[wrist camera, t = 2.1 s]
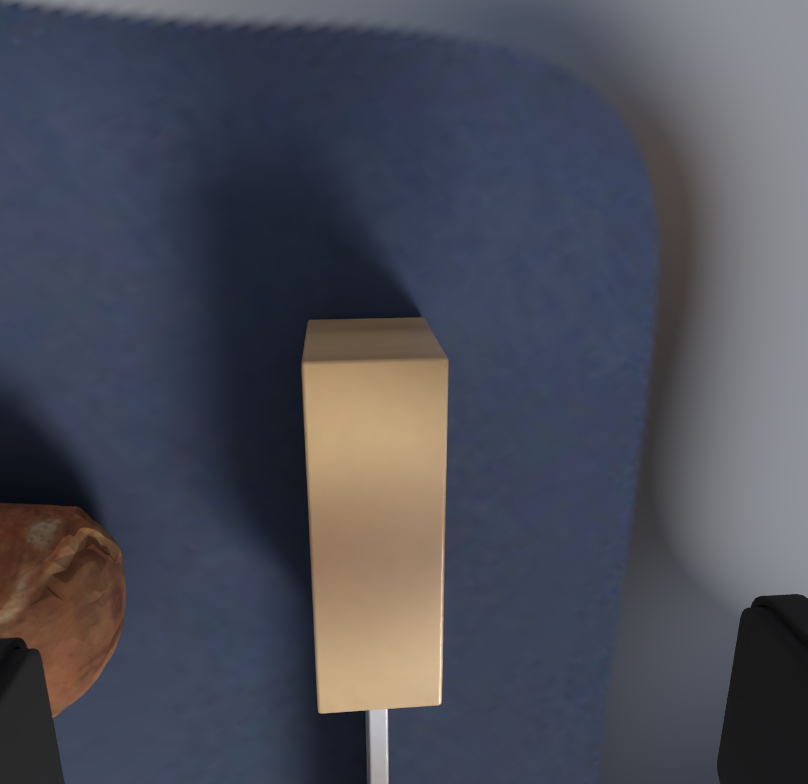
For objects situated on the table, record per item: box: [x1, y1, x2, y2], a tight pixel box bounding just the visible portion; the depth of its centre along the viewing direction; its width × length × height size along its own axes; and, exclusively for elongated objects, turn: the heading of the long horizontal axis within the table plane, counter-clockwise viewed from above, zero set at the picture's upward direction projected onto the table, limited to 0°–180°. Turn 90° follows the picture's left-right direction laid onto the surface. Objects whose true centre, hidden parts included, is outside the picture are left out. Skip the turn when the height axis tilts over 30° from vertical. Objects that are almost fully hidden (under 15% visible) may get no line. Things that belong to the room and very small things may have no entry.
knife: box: [301, 317, 449, 784], centre depth 15 cm, size 15×2×3 cm, turn 0°
